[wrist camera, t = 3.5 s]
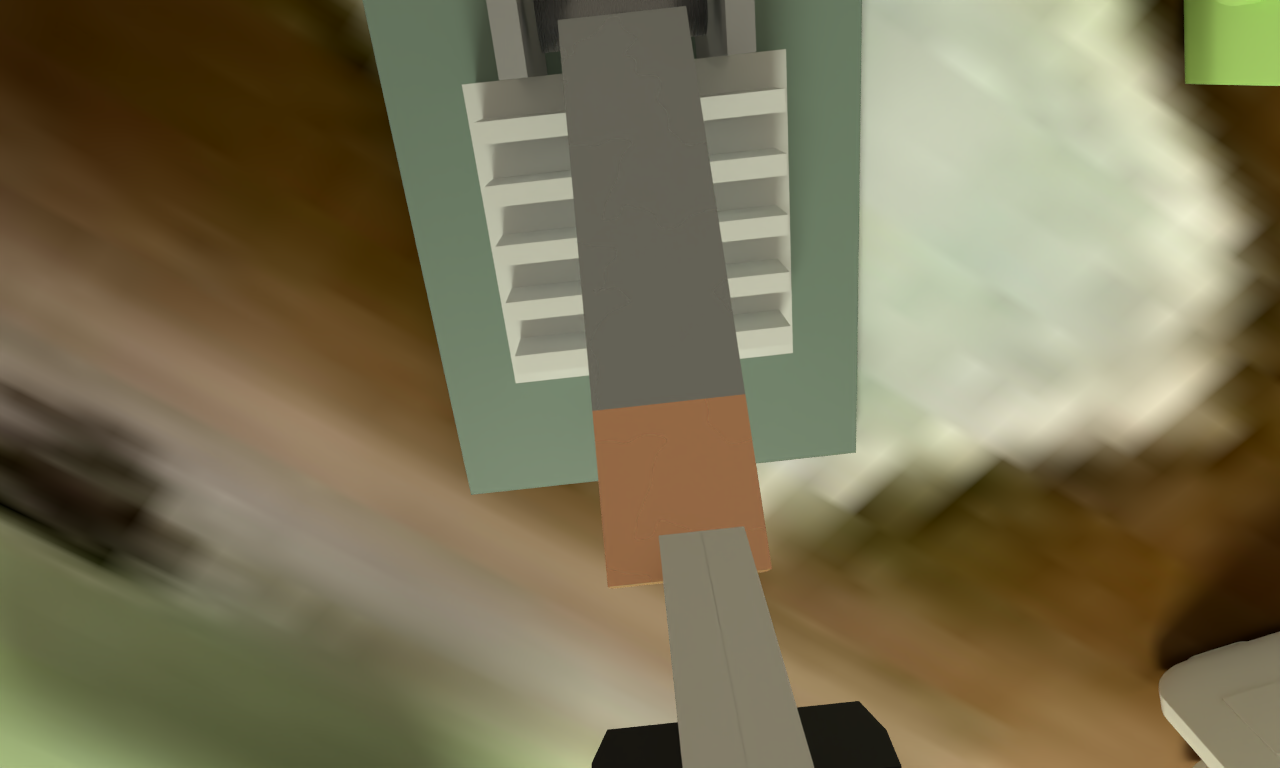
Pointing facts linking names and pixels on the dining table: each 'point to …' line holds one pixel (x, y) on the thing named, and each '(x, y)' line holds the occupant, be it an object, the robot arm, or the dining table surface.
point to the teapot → (1232, 42)
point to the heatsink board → (469, 276)
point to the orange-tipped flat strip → (652, 282)
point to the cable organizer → (1228, 704)
